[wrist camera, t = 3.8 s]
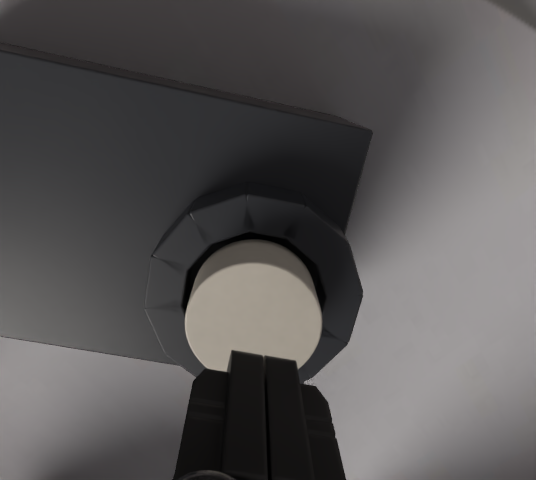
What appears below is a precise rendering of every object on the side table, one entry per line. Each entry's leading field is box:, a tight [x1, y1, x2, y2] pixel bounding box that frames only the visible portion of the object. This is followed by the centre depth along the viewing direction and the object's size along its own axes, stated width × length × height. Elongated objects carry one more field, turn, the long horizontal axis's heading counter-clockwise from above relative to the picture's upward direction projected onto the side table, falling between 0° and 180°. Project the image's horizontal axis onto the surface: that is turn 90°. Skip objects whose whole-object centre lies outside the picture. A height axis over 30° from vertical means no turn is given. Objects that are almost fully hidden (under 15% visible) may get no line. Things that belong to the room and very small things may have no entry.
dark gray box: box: [0, 43, 373, 384], centre depth 18 cm, size 17×10×8 cm, turn 78°
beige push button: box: [185, 239, 322, 372], centre depth 15 cm, size 4×4×2 cm
